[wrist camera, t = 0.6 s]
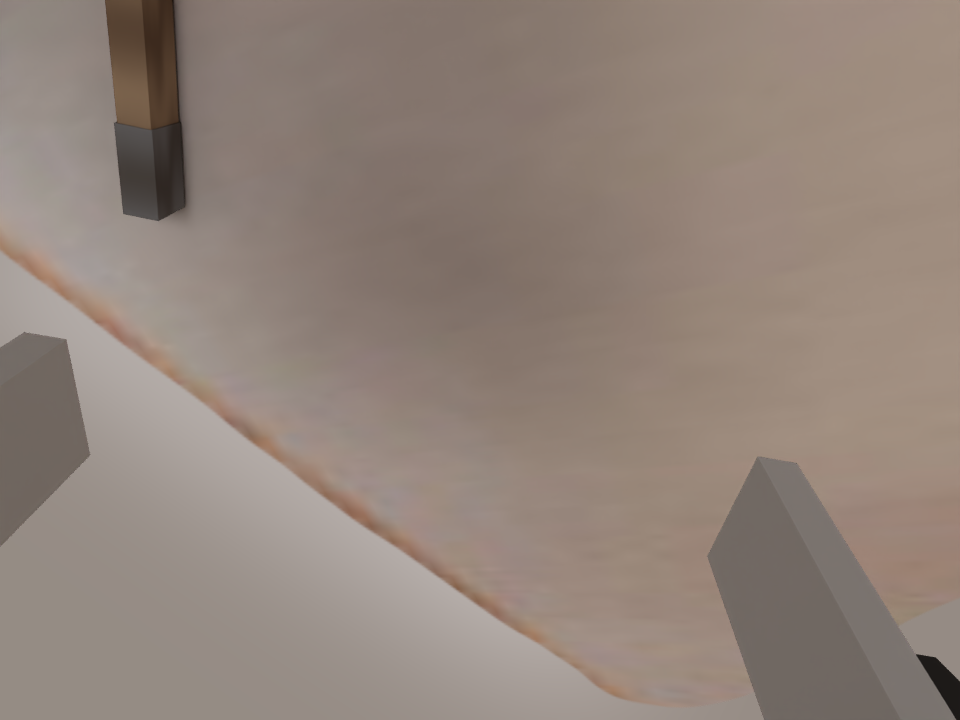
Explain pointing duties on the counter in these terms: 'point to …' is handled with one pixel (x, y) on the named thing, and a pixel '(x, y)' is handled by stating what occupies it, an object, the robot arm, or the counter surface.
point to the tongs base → (146, 106)
